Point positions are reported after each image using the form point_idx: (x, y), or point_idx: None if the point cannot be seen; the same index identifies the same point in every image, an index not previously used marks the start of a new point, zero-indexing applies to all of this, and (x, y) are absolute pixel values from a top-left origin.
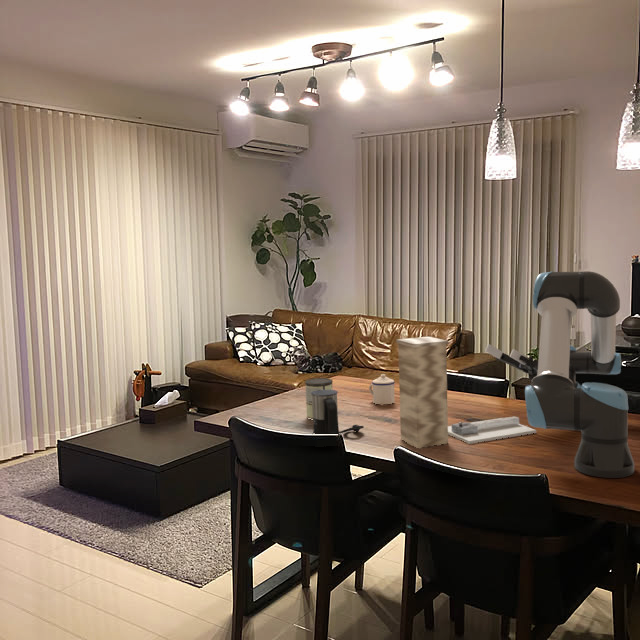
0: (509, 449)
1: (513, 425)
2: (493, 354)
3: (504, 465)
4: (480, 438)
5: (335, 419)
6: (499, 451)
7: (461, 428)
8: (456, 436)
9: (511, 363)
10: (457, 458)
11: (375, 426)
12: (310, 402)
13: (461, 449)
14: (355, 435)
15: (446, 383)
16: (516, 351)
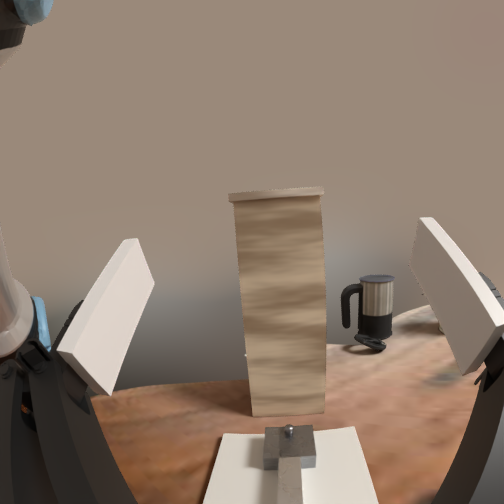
0: (139, 463)
1: None
2: (437, 309)
3: (106, 411)
4: (222, 455)
5: (342, 310)
6: (148, 446)
7: (266, 427)
8: None
9: (443, 482)
10: (179, 396)
11: (406, 365)
12: None
13: (208, 417)
14: (362, 349)
15: (241, 298)
16: (115, 259)
